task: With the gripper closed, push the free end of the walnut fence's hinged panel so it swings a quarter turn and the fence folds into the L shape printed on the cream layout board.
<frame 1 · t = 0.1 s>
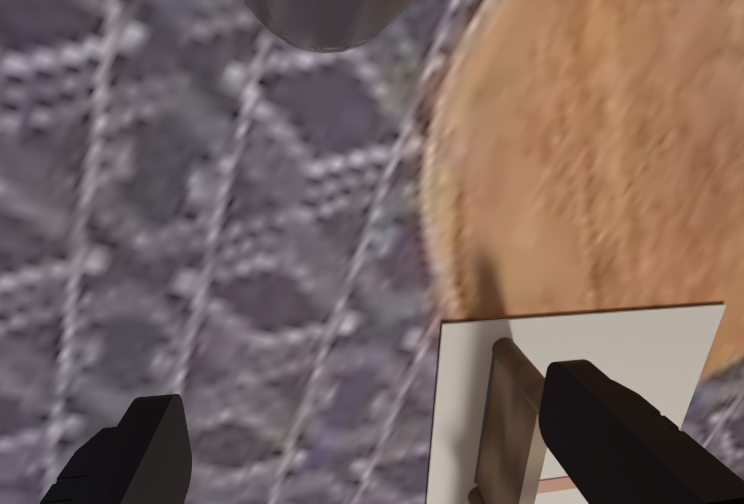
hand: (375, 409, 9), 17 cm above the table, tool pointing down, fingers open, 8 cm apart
layout card: (552, 474, 36), on the table
fence fixed: (479, 492, 36), resting on layout card
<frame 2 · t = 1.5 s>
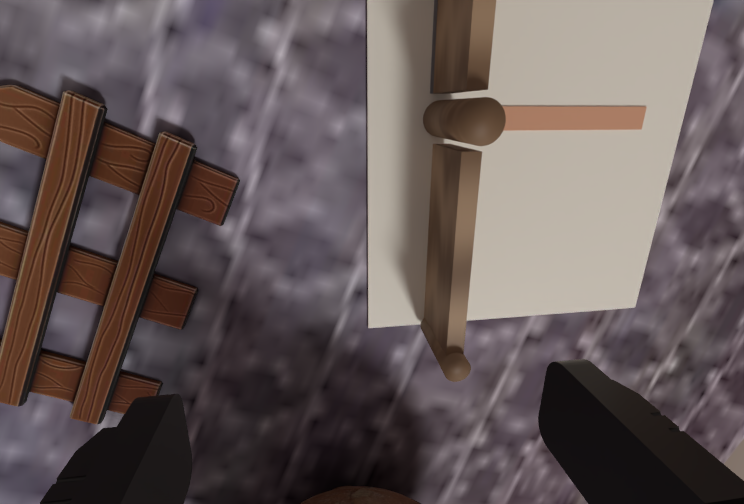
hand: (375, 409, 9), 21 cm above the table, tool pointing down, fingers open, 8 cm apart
decorative fence: (87, 267, 28), on the table
layout card: (535, 103, 28), on the table
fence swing: (448, 261, 27), point 4 cm above the table, hinge at 0.0°
fence fixed: (439, 118, 27), resting on layout card
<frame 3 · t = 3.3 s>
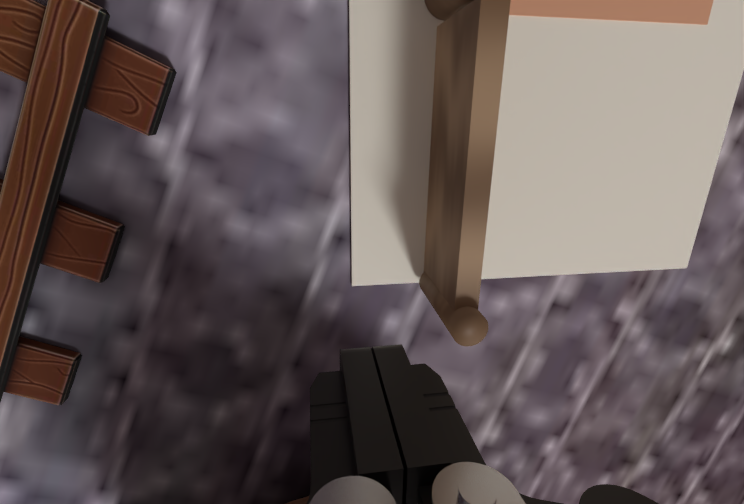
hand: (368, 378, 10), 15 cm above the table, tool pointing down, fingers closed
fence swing: (458, 182, 20), point 4 cm above the table, hinge at 0.0°
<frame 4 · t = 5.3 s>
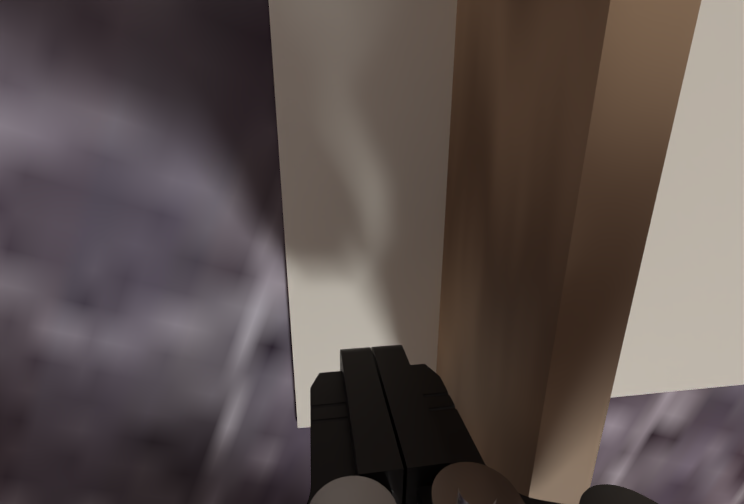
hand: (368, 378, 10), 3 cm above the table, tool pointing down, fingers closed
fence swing: (517, 268, 8), point 4 cm above the table, hinge at 0.5°, touching gripper
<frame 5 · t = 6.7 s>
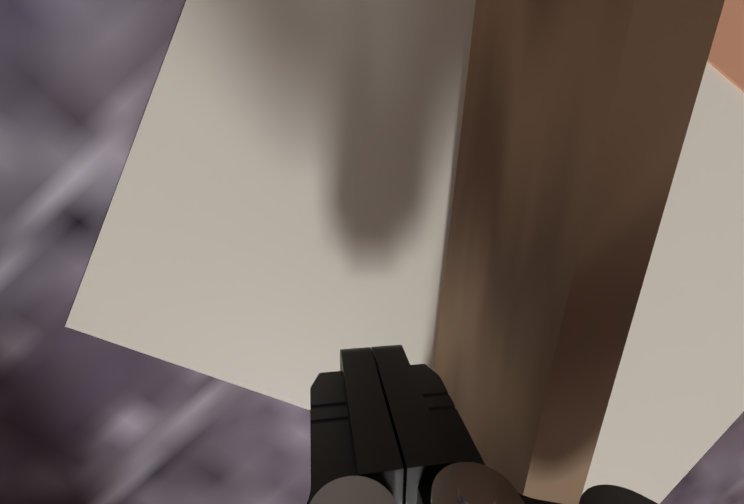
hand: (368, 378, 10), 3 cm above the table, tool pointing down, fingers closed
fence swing: (522, 270, 8), point 4 cm above the table, hinge at 26.0°, touching gripper
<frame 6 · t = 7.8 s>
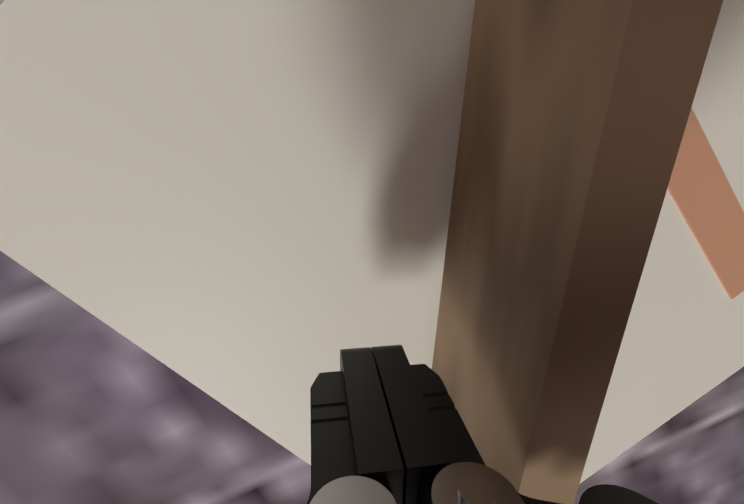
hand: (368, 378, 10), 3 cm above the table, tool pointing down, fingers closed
layout card: (668, 64, 11), on the table
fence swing: (519, 270, 8), point 4 cm above the table, hinge at 45.4°, touching gripper
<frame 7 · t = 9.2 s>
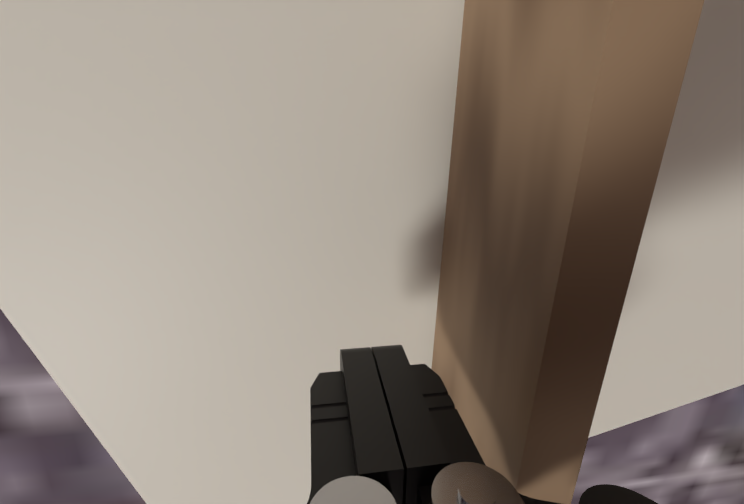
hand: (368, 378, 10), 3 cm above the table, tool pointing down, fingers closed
layout card: (567, 132, 12), on the table
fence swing: (513, 270, 9), point 4 cm above the table, hinge at 71.5°, touching gripper
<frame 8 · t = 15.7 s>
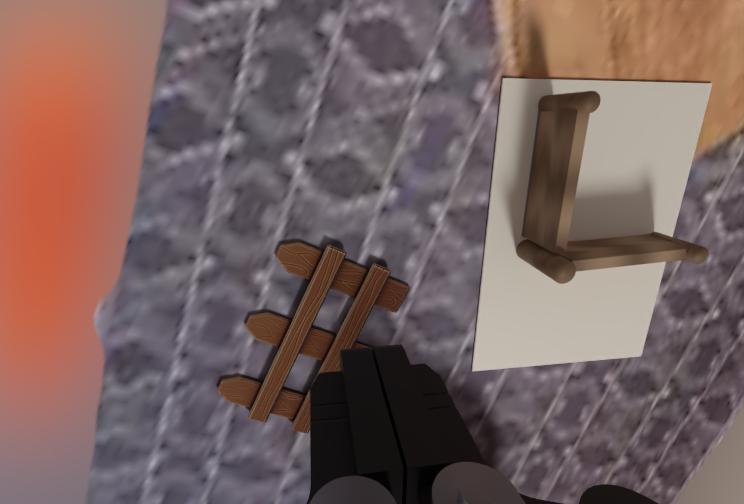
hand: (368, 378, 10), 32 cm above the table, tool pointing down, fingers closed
decorative fence: (311, 336, 46), on the table
layout card: (581, 238, 46), on the table
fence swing: (621, 252, 43), point 4 cm above the table, hinge at 93.3°
fence fixed: (525, 248, 46), resting on layout card
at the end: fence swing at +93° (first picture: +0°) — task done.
